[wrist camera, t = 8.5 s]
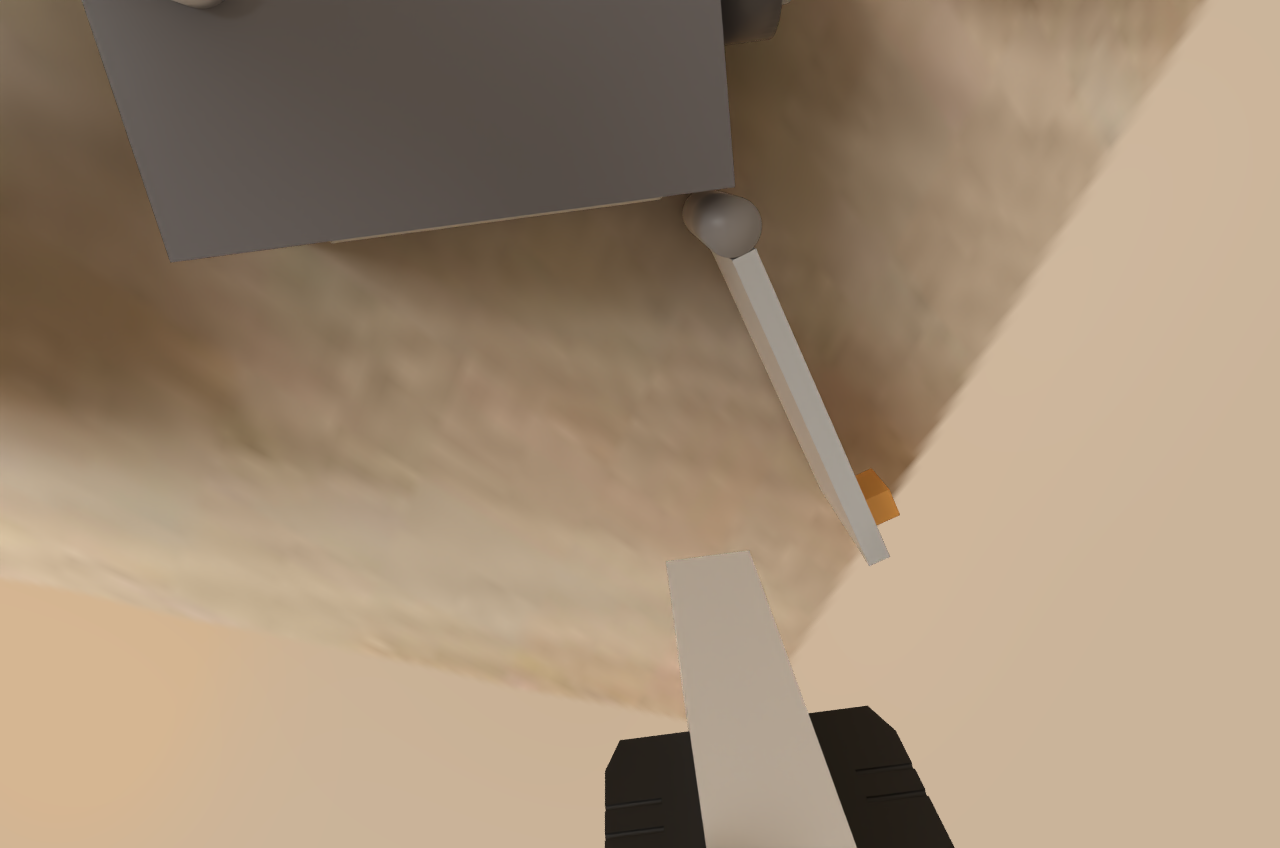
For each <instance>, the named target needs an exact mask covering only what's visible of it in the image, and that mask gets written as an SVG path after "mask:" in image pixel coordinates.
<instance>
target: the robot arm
mask: <svg viewBox="0 0 1280 848" xmlns="http://www.w3.org/2000/svg"><path fill="white" fill-rule="evenodd" d="M666 567H667V574H668V582H669V590H670V597H671V605H672V613H673V620H674V628H675V636H676V644H677V651H678V659H679V667H680V674H681V682H682V689H683V696H684V704H685V711H686V718H687V725H688V732H681V733H673V734H665V735H658V736H650V737H643V738H635V739H627V740H620V741H619V743H618V746H617V748H616V750H615V752H614V754H613V756H612V758H611V760H610V762H609V764H608V767H607V768H606V771H605V808H606V812H605V838H606V841H605V848H954V846H953V844H952V842H951V840H950V838H949V836H948V834H947V832H946V830H945V828H944V826H943V824H942V822H941V820H940V818H939V816H938V814H937V812H936V810H935V808H934V806H933V804H932V802H931V800H930V798H929V796H927V795H926V792H925V788H924V786H923V784H922V782H921V781H920V778H919V776H918V774H917V772H916V770H915V769H913V767H912V762H911V760H910V758H909V756H908V754H907V752H906V750H905V748H904V746H903V744H902V742H901V741H900V738H899V736H898V734H897V732H896V731H895V730H894V729H893V728H892V727H891V726H890V725H889V724H887V723H886V722H885V721H884V720H883V719H882V718H881V717H880V716H878V715H877V714H876V713H875V712H874V711H873V710H872V709H871V708H869V707H868V706H862V707H854V708H847V709H839V710H831V711H823V712H816V713H808V712H807V709H806V706H805V703H804V700H803V697H802V695H801V692H800V689H799V686H798V684H797V681H796V678H795V676H794V673H793V670H792V667H791V664H790V661H789V659H788V656H787V653H786V650H785V648H784V645H783V642H782V639H781V637H780V634H779V631H778V628H777V626H776V623H775V620H774V617H773V614H772V612H771V609H770V606H769V603H768V601H767V598H766V595H765V592H764V590H763V587H762V584H761V581H760V578H759V576H758V573H757V570H756V567H755V565H754V562H753V559H752V556H751V554H750V551H749V550H747V551H740V552H732V553H724V554H717V555H709V556H702V557H694V558H686V559H679V560H671V561H666Z"/></svg>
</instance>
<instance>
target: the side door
mask: <svg viewBox="0 0 1280 848" xmlns="http://www.w3.org/2000/svg"><path fill="white" fill-rule="evenodd" d="M682 215H683V221H684V224H685V226H686V227H687V229H688V230H689V231H690V232H691V233H692V234H693V235H695V236H696V237H697V238H698V239H699V240H700V241H701V242H703V243H704V244H705V245H706V246H707V247H708V248H709V249H710V250H711V251H712V253H713V256H714V258H715V260H716V262H717V264H718V266H719V269H720V271H721V273H722V275H723V277H724V280H725V282H726V284H727V286H728V288H729V291H730V293H731V295H732V297H733V299H734V301H735V304H736V306H737V308H738V310H739V312H740V315H741V317H742V319H743V321H744V323H745V326H746V328H747V330H748V332H749V334H750V337H751V339H752V341H753V343H754V345H755V347H756V350H757V352H758V354H759V356H760V358H761V361H762V363H763V365H764V367H765V369H766V372H767V374H768V376H769V378H770V380H771V382H772V385H773V387H774V389H775V391H776V393H777V396H778V398H779V400H780V402H781V404H782V407H783V409H784V411H785V413H786V415H787V418H788V420H789V422H790V424H791V426H792V428H793V431H794V433H795V435H796V437H797V439H798V442H799V444H800V446H801V448H802V450H803V453H804V455H805V457H806V459H807V461H808V463H809V466H810V468H811V470H812V472H813V474H814V477H815V479H816V481H817V483H818V485H819V488H820V490H821V491H822V493H823V494H824V496H825V498H826V499H827V501H828V502H829V504H830V505H831V507H832V508H833V510H834V512H835V513H836V515H837V516H838V518H839V519H840V521H841V523H842V524H843V526H844V527H845V529H846V530H847V532H848V534H849V535H850V537H851V538H852V540H853V541H854V543H855V544H856V546H857V548H858V549H859V551H860V552H861V554H862V555H863V557H864V559H865V560H866V562H867V563H868V565H869V566H870V565H873V564H875V563H877V562H879V561H882V560H884V559H886V558H889V557H890V555H889V553H888V551H887V548H886V546H885V544H884V541H883V539H882V537H881V534H880V532H879V530H878V528H877V525H879V524H881V523H883V522H885V521H888V520H890V519H892V518H894V517H896V516H899V515H900V514H899V511H898V509H897V507H896V504H895V502H894V499H893V497H892V495H891V492H890V490H889V488H888V487H887V486H886V485H885V484H884V483H883V481H882V480H881V479H880V478H879V477H878V475H877V474H876V473H875V472H874V471H873V470H872V468H871V469H869V470H867V471H864V472H862V473H860V474H858V475H856V476H855V475H854V472H853V470H852V468H851V466H850V463H849V461H848V459H847V456H846V454H845V452H844V449H843V447H842V445H841V443H840V440H839V438H838V436H837V433H836V431H835V429H834V426H833V424H832V422H831V420H830V417H829V415H828V413H827V410H826V408H825V406H824V404H823V401H822V399H821V397H820V394H819V392H818V390H817V387H816V385H815V383H814V381H813V378H812V376H811V374H810V371H809V369H808V367H807V364H806V362H805V360H804V358H803V355H802V353H801V351H800V348H799V346H798V344H797V341H796V339H795V337H794V335H793V332H792V330H791V328H790V325H789V323H788V321H787V318H786V316H785V314H784V312H783V309H782V307H781V305H780V302H779V300H778V298H777V296H776V293H775V291H774V289H773V286H772V284H771V282H770V279H769V277H768V275H767V273H766V270H765V268H764V266H763V263H762V261H761V259H760V256H759V254H758V252H757V250H756V248H754V246H755V245H756V244H757V242H758V240H759V238H760V235H761V230H762V221H761V217H760V214H759V212H758V210H757V208H756V207H755V206H754V205H753V204H752V203H751V202H750V201H748V200H747V199H745V198H742V197H738V196H735V195H731V194H727V193H724V192H720V191H716V190H710V191H703V192H695V193H692V194H691V195H690V196H689V197H688V198H687V200H686V202H685V204H684V207H683V212H682Z"/></svg>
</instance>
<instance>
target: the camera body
mask: <svg viewBox="0 0 1280 848" xmlns="http://www.w3.org/2000/svg"><path fill="white" fill-rule="evenodd" d="M790 1H791V0H82V3H83V6H84V9H85V12H86V15H87V18H88V21H89V24H90V26H91V29H92V32H93V35H94V38H95V41H96V44H97V47H98V50H99V53H100V56H101V59H102V62H103V65H104V68H105V71H106V74H107V77H108V80H109V83H110V86H111V89H112V91H113V94H114V97H115V100H116V103H117V106H118V109H119V112H120V115H121V118H122V121H123V124H124V127H125V130H126V133H127V136H128V139H129V142H130V145H131V148H132V151H133V154H134V156H135V159H136V162H137V165H138V168H139V171H140V174H141V177H142V180H143V183H144V186H145V189H146V192H147V195H148V198H149V201H150V204H151V207H152V210H153V213H154V216H155V219H156V222H157V224H158V227H159V230H160V233H161V236H162V239H163V242H164V245H165V248H166V251H167V254H168V257H169V260H170V263H171V262H178V261H186V260H193V259H201V258H208V257H216V256H223V255H231V254H238V253H246V252H253V251H261V250H268V249H276V248H283V247H291V246H298V245H306V244H313V243H321V242H328V241H331V243H340V242H347V241H355V240H362V239H370V238H377V237H385V236H392V235H400V234H407V233H415V232H422V231H430V230H437V229H445V228H452V227H460V226H467V225H475V224H482V223H490V222H497V221H505V220H512V219H520V218H527V217H535V216H542V215H550V214H557V213H565V212H572V211H580V210H587V209H595V208H602V207H610V206H617V205H625V204H632V203H640V202H647V201H655V200H661V197H665V196H673V195H680V194H688V193H695V192H703V191H710V190H718V189H725V188H733V187H735V178H734V166H733V153H732V140H731V127H730V114H729V101H728V89H727V76H726V63H725V50H724V45H731V44H739V43H746V42H753V41H761V40H768V39H771V38H772V37H773V36H774V34H775V32H776V29H777V26H778V22H779V18H780V13H781V7H782V4H788V3H789V2H790Z"/></svg>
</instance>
